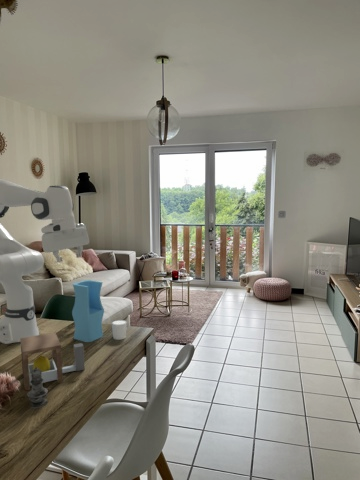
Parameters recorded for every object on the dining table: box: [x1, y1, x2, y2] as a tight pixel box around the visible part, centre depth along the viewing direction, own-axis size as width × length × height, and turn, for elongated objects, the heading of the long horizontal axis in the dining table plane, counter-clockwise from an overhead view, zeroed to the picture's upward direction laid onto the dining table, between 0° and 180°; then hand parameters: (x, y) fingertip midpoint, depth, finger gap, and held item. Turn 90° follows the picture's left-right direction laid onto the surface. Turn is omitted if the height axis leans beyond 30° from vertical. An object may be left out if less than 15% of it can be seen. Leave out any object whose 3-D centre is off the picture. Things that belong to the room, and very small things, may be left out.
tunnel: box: [20, 332, 64, 391], centre depth 128 cm, size 12×13×13 cm
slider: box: [28, 342, 86, 386], centre depth 130 cm, size 19×9×9 cm, turn 116°
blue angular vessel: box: [71, 279, 105, 343], centre depth 164 cm, size 10×10×25 cm
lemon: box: [32, 355, 50, 372], centre depth 128 cm, size 6×6×8 cm
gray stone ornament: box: [26, 367, 49, 409], centre depth 112 cm, size 6×6×12 cm
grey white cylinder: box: [110, 319, 128, 341], centre depth 165 cm, size 7×7×7 cm
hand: (69, 259), depth 147 cm, fingers open, 8 cm apart
